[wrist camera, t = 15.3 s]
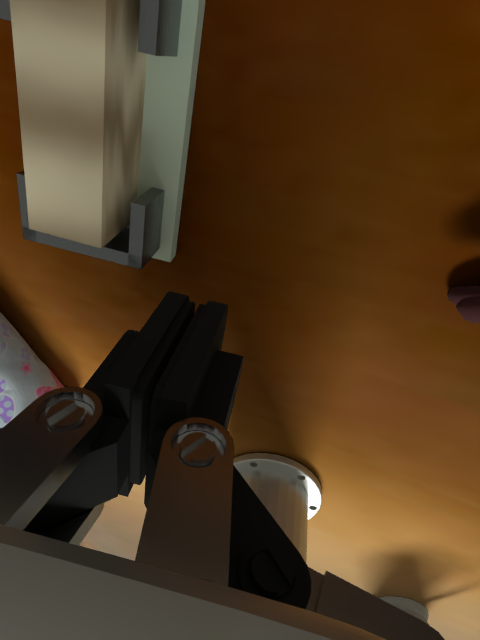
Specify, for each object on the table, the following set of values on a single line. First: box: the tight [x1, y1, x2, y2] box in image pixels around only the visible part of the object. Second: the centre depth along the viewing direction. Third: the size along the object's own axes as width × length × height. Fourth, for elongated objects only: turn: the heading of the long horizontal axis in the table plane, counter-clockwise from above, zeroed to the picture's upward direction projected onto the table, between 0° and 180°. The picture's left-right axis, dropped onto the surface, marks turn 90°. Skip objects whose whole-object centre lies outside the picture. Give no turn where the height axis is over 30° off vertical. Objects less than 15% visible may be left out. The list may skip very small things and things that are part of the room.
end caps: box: [0, 0, 182, 269], centre depth 26 cm, size 18×9×4 cm, turn 169°
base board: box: [126, 0, 206, 262], centre depth 29 cm, size 20×11×2 cm, turn 169°
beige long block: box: [10, 0, 147, 248], centre depth 26 cm, size 14×5×6 cm, turn 168°
